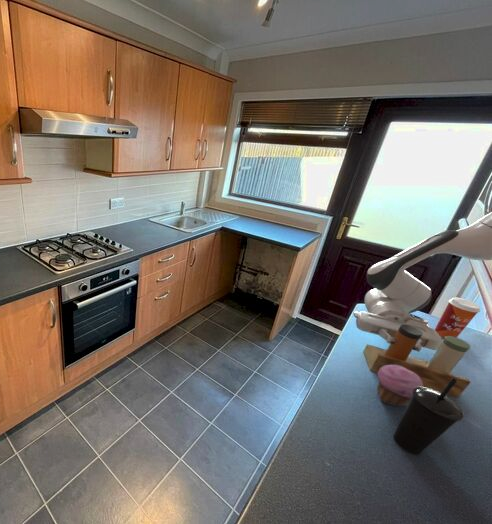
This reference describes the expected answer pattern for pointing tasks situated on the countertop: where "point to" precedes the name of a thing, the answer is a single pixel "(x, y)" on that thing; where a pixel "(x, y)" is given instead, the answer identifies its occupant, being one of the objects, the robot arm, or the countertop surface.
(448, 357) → the sage jar
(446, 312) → the paper cup
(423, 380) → the spice rack
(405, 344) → the amber jar
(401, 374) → the cupcake
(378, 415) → the countertop surface
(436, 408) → the drinking cup
